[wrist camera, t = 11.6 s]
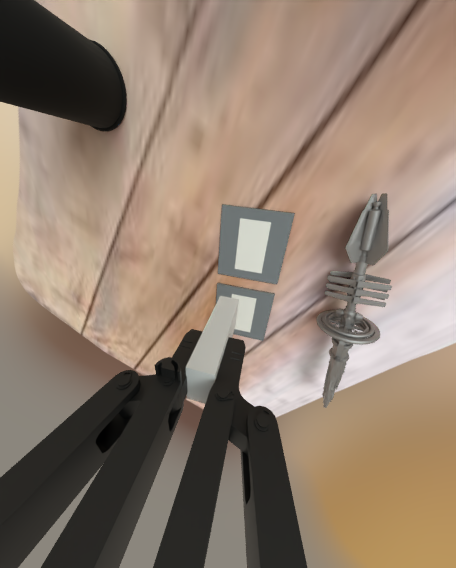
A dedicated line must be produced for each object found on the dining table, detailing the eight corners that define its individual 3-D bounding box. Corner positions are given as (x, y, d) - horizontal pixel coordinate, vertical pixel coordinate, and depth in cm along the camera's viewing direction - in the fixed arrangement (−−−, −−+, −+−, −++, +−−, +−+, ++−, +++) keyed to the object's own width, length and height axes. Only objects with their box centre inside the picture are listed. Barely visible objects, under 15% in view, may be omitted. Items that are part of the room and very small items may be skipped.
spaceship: (296, 412, 34) (348, 441, 30) (333, 195, 20) (439, 190, 16) (308, 380, 40) (353, 400, 35) (342, 195, 26) (422, 192, 22)
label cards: (222, 204, 27) (221, 204, 27) (294, 213, 26) (294, 213, 25) (214, 328, 39) (214, 330, 39) (263, 339, 38) (263, 341, 38)
